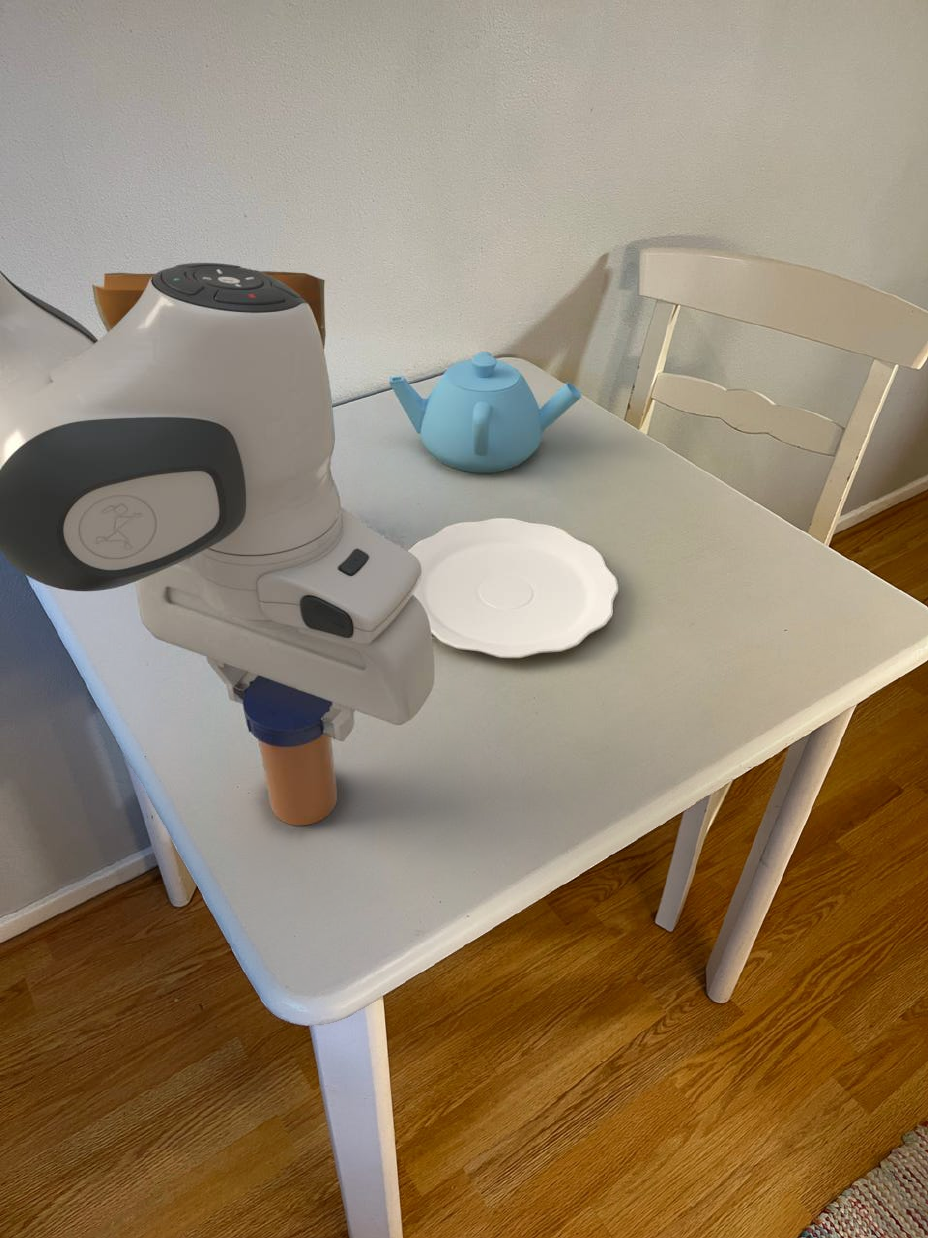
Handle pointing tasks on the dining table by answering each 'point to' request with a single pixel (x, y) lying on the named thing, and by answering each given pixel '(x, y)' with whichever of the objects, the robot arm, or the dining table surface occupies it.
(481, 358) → the teapot
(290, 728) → the jar lid
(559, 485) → the dining table surface
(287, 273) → the pancake mix bag
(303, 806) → the jar
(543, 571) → the plate
